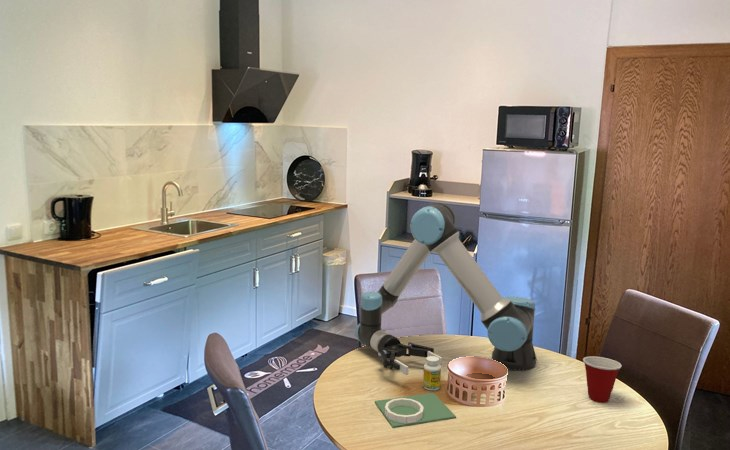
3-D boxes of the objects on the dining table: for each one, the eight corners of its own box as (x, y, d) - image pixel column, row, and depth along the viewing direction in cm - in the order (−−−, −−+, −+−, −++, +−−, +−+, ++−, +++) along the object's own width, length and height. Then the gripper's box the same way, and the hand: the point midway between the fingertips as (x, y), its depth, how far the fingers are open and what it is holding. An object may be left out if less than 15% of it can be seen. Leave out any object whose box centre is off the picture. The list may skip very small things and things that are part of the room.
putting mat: (433, 394, 175) (433, 392, 175) (455, 417, 161) (456, 416, 161) (374, 402, 169) (374, 400, 169) (392, 427, 155) (392, 426, 155)
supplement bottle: (432, 382, 183) (433, 353, 182) (443, 388, 179) (445, 359, 177) (419, 386, 180) (420, 357, 179) (430, 392, 176) (431, 363, 174)
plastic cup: (618, 394, 177) (622, 357, 175) (617, 409, 167) (621, 371, 165) (581, 387, 181) (584, 351, 179) (578, 401, 172) (581, 364, 170)
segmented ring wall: (414, 402, 168) (414, 396, 168) (429, 420, 158) (429, 413, 158) (380, 407, 165) (380, 401, 165) (393, 425, 155) (393, 418, 155)
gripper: (414, 347, 206) (453, 369, 188) (355, 362, 192) (392, 386, 175) (414, 327, 205) (454, 347, 187) (355, 340, 191) (392, 363, 174)
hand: (424, 366), depth 181 cm, fingers open, 13 cm apart
